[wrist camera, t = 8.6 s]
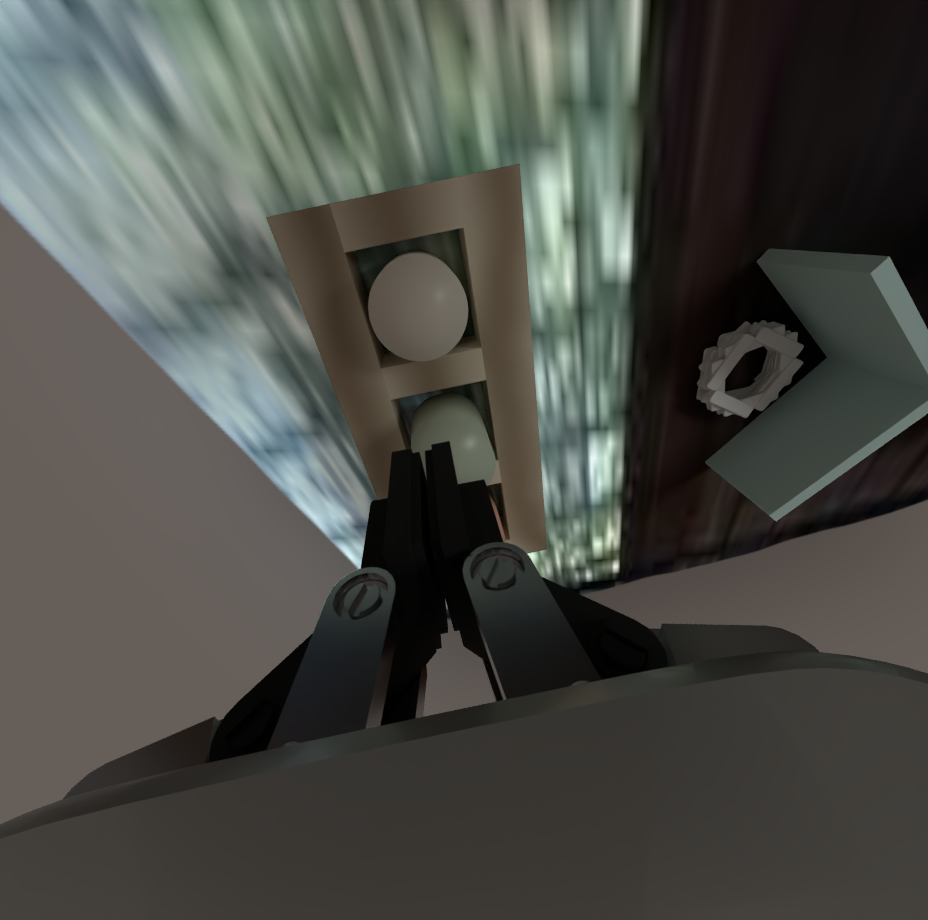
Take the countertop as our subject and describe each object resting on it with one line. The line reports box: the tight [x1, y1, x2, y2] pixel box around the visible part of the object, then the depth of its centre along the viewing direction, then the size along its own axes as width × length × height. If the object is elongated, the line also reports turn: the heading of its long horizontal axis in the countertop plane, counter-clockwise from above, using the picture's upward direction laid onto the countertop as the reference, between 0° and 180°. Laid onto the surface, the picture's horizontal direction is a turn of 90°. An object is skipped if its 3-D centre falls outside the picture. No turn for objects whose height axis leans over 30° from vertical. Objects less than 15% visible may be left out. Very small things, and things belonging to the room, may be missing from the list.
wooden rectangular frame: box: [266, 164, 547, 553], centre depth 25 cm, size 12×26×3 cm, turn 10°
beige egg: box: [368, 250, 468, 361], centre depth 20 cm, size 5×5×5 cm
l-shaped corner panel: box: [696, 249, 928, 521], centre depth 25 cm, size 12×12×8 cm
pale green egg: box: [411, 393, 496, 486], centre depth 23 cm, size 5×5×5 cm
